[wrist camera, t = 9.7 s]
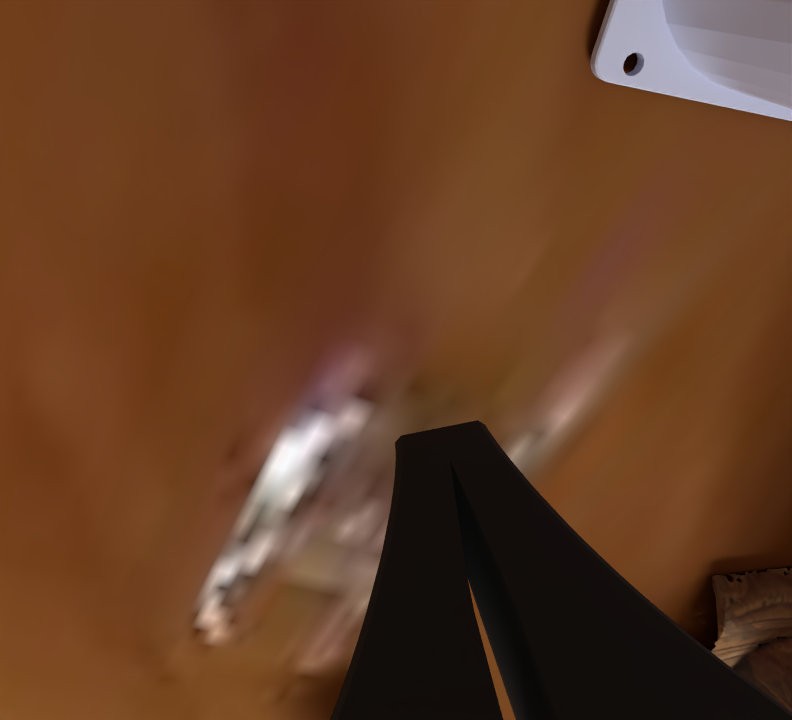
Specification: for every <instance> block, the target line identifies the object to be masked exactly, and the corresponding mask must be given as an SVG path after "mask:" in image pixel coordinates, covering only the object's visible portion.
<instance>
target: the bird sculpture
mask: <svg viewBox="0 0 792 720" xmlns="http://www.w3.org/2000/svg"><path fill="white" fill-rule="evenodd" d="M784 571H785V572H786V574H787V575H786V576H785V575H784V573H783V572H784ZM727 575H731V577H732V578H733V581H732V582H729V581H728V580H727V578H726V576H723V575H722V576H720V575H718V574H717V575H714V576H713V577H712V581H713V584H712V586H713V589H714V593H715V596H716V607H717V621H718V641H717V642H715V645H716V647H715V648H714V649H713V650H712V651H711V652H712V653H713V654H715V655H716V656H717V657H718V658H720V659H721V660H722V661H723V662H725V663H726V664H727V665H728V666H730V667H731V668H732V669H734V670H735V671H736V672H737V673H739V674H740V675H742V676H743V677H744V678H746V679H747V680H748V681H750V682H751V683H753V684H754V685H755V686H757V687H758V688H759V689H761V690H762V691H763V692H765V693H766V694H768V695H769V696H770V697H772V698H773V699H774V700H776V701H777V702H779V703H780V704H781V705H783V706H784V707H785V708H787V709H788V710H790V711H791V712H792V568H790V571H788V570H787V568H780V569H776V568H775V569H767V571H766V573H765V572H760V573H757V572H756V570H755V571H753V573H750V574H749V573H748V572H745V575H742V576H741V575H740V574H739V575H736V574H735V573H734V574H727ZM737 578H739V579H740V580H741V582H738V581H737V580H736V579H737ZM785 636H787V637H785ZM777 637H785V638H780V639H777ZM766 642H769V643H768V644H765V645H761V646H757V645H758V644H760V643H762V644H764V643H766ZM734 666H735V667H734Z"/></svg>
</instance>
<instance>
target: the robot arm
mask: <svg viewBox="0 0 792 720" xmlns="http://www.w3.org/2000/svg"><path fill="white" fill-rule="evenodd" d="M632 53H636V55H637V58H638V60H637V65H636V66H635V68H634V70H632V71H631V72H629V73H626V74H625V72H624V70H623V65H624V61H625V60H626V58H627V56H629V55H630V54H632ZM590 64H591V69H592V72H593V73H594V75H595V76H596V77H597V78H599V79H601V80H603V81H606V82H609V83H614V84H619V85H624V86H628V87H633V88H638V89H643V90H647V91H652V92H657V93H662V94H666V95H671V96H676V97H681V98H685V99H690V100H695V101H699V102H704V103H709V104H714V105H718V106H723V107H728V108H733V109H737V110H742V111H747V112H752V113H756V114H761V115H766V116H771V117H775V118H780V119H785V120H789V121H792V0H610V2H609V5H608V8H607V11H606V14H605V17H604V20H603V23H602V26H601V29H600V31H599V34H598V37H597V40H596V43H595V46H594V49H593V52H592V56H591V62H590ZM395 447H396V468H395V480H394V488H393V496H392V503H391V509H390V515H389V520H388V525H387V530H386V535H385V540H384V545H383V550H382V555H381V559H380V563H379V567H378V571H377V574H376V578H375V582H374V586H373V590H372V593H371V597H370V601H369V605H368V609H367V612H366V616H365V619H364V622H363V626H362V629H361V632H360V635H359V639H358V642H357V645H356V648H355V651H354V654H353V657H352V660H351V663H350V666H349V669H348V672H347V675H346V678H345V681H344V684H343V686H342V689H341V692H340V695H339V698H338V700H337V703H336V706H335V708H334V711H333V713H332V716H331V719H330V720H503V717H502V713H501V710H500V706H499V702H498V699H497V695H496V691H495V688H494V684H493V680H492V677H491V673H490V669H489V665H488V662H487V658H486V654H485V650H484V647H483V643H482V639H481V635H480V632H479V628H478V624H477V620H476V617H475V613H474V608H473V603H472V598H471V593H470V588H469V583H470V586H471V589H472V592H473V595H474V598H475V601H476V604H477V607H478V610H479V613H480V616H481V619H482V622H483V625H484V628H485V630H486V633H487V636H488V639H489V642H490V645H491V648H492V651H493V654H494V657H495V660H496V663H497V666H498V668H499V671H500V674H501V677H502V680H503V683H504V686H505V689H506V692H507V695H508V698H509V701H510V704H511V706H512V709H513V712H514V715H515V718H516V720H792V712H791V711H790V710H788V709H787V708H785V707H784V706H783V705H781V704H780V703H779V702H777V701H776V700H774V699H773V698H772V697H770V696H769V695H768V694H766V693H765V692H763V691H762V690H761V689H759V688H758V687H757V686H755V685H754V684H753V683H751V682H750V681H748V680H747V679H746V678H744V677H743V676H742V675H740V674H739V673H737V672H736V671H735V670H734V669H732V668H731V667H730V666H728V665H727V664H726V663H725V662H723V661H722V660H721V659H720V658H718V657H717V656H716V655H715V654H713V653H712V652H711V651H710V650H708V649H707V648H706V647H705V646H703V645H702V644H701V643H699V642H698V641H697V640H696V639H694V638H693V637H692V636H691V635H689V634H688V633H687V632H686V631H684V630H683V629H682V628H681V627H680V626H679V625H677V624H676V623H675V622H674V621H673V620H671V619H670V618H669V617H668V616H667V615H665V614H664V613H663V612H662V611H661V610H660V609H658V608H657V607H656V606H655V605H654V604H652V603H651V602H650V601H649V600H648V599H647V598H645V597H644V596H643V595H642V594H641V593H640V592H639V591H638V590H636V589H635V588H634V587H633V586H632V585H631V584H630V583H629V582H628V581H626V580H625V579H624V578H623V577H622V576H621V575H620V574H619V573H618V572H617V571H615V570H614V569H613V568H612V567H611V566H610V565H609V564H608V563H607V562H606V561H605V560H604V559H603V558H602V557H601V556H600V555H599V554H598V553H597V552H596V551H594V550H593V549H592V548H591V547H590V546H589V545H588V544H587V543H586V542H585V541H584V540H583V539H582V538H581V537H580V536H579V535H578V534H577V533H576V532H575V531H574V530H573V529H572V528H571V527H570V526H569V525H568V524H567V523H566V522H565V520H564V519H563V518H562V517H561V516H560V515H559V514H558V513H557V512H556V511H555V510H554V509H553V508H552V507H551V505H550V504H549V503H548V502H547V501H546V500H545V499H544V498H543V497H542V496H541V495H540V494H539V493H538V491H537V490H536V489H535V488H534V487H533V486H532V485H531V484H530V482H529V481H528V480H527V479H526V478H525V477H524V475H523V474H522V473H521V472H520V471H519V469H518V468H517V467H516V466H515V465H514V463H513V462H512V461H511V460H510V458H509V457H508V456H507V455H506V453H505V452H504V451H503V450H502V448H501V447H500V446H499V444H498V443H497V442H496V440H495V439H494V437H493V436H492V435H491V433H490V432H489V430H488V429H487V427H486V426H485V425H484V424H483V423H481V422H479V421H478V420H477V421H472V422H467V423H462V424H457V425H452V426H447V427H442V428H437V429H432V430H427V431H422V432H417V433H412V434H407V435H402V436H400V438H399V439H398V440H397V441H396V442H395ZM467 577H468V578H467ZM468 580H469V583H468Z"/></svg>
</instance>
